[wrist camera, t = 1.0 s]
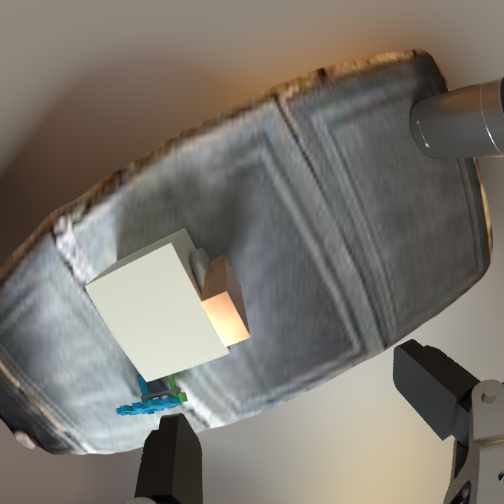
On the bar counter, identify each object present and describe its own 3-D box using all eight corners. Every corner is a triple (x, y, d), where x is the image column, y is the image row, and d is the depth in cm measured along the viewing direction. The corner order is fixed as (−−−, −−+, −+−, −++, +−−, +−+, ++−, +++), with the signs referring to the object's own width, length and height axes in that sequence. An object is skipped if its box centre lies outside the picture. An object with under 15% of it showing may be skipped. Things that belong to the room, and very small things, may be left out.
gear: (134, 419, 37) (106, 418, 28) (126, 386, 40) (97, 377, 31) (196, 405, 39) (181, 403, 30) (185, 371, 42) (168, 360, 33)
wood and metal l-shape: (218, 233, 32) (215, 267, 19) (245, 291, 34) (259, 354, 20) (147, 266, 32) (105, 316, 19) (177, 319, 34) (156, 390, 20)
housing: (185, 227, 33) (171, 242, 23) (227, 312, 36) (230, 352, 26) (116, 261, 33) (84, 286, 23) (161, 339, 36) (146, 382, 26)
